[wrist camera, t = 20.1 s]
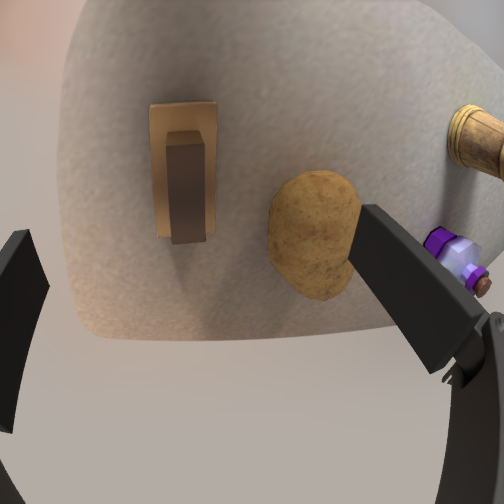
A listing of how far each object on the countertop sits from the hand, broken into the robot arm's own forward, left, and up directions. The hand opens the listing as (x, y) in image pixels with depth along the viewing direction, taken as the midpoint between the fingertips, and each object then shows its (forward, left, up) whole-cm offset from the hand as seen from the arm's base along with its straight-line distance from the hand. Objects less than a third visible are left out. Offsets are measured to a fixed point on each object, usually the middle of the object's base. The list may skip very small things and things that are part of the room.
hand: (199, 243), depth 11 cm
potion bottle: (+13, +36, -17) cm, 42 cm away
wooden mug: (-5, +38, -17) cm, 42 cm away
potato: (+8, +12, -17) cm, 22 cm away
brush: (+2, 0, -17) cm, 17 cm away
